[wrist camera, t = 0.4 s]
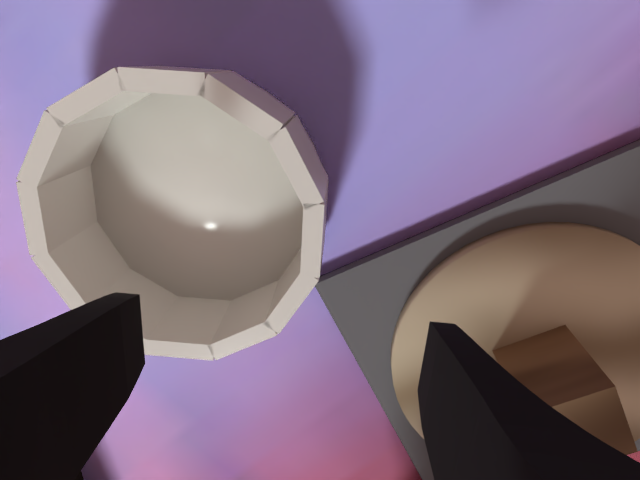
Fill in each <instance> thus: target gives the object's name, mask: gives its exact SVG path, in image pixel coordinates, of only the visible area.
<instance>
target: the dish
mask: <svg viewBox="0 0 640 480" xmlns="http://www.w3.org/2000/svg"><path fill="white" fill-rule="evenodd" d="M294 114H295V112H294V111H292V110H291V109H289V108H288V107H286V106H285V105H284V104H283V103H282V102H280V101H279V100H278V99H277V98H275V97H274V96H273V95H271V94H270V93H269V92H267V91H266V90H264V89H262V88H261V87H259V86H257V85H256V84H254V83H252V82H250V81H248V80H247V79H245V78H244V77H242V76H241V75H239V74H238V73H236V72H235V71H233V72H232V70H219V69H203V68H188V67H172V66H131V67H117V68H113V69H111V70H109V71H108V72H106V73H104V74H103V75H101V76H99V77H98V78H96V79H94V80H93V81H91V82H89V83H87V84H86V85H84V86H82V87H81V88H79V89H77V90H76V91H74V92H72V93H71V94H69V95H67V96H66V97H64V98H62V99H61V100H59V101H57V102H56V103H54V104H52V105H51V106H49V107H47V110H44V112H43V115H42V117H41V120H40V122H39V125H38V127H37V130H36V132H35V135H34V137H33V139H32V142H31V144H30V147H29V149H28V152H27V154H26V157H25V159H24V162H23V164H22V166H21V169H20V171H19V174H18V176H17V180H19V181H18V182H16V184H17V190H18V195H19V200H20V206H21V211H22V216H23V222H24V227H25V233H26V238H27V243H28V249H29V254H30V255H35V256H33V257H31V258H32V260H33V261H34V262H35V264H36V265H37V266H38V268H39V269H40V270H41V272H42V273H43V274H44V275H45V277H46V278H47V279H48V281H49V282H50V283H51V285H52V286H53V287H54V289H55V290H56V291H57V292H58V294H59V295H60V296H61V298H62V299H63V300H64V302H65V303H66V304H67V306H68V307H69V308H70V309H71V310H73V309H75V308H77V307H79V306H82V305H84V304H86V303H89V302H91V301H93V300H96V299H98V298H101V297H103V296H106V295H109V294H112V293H115V292H118V293H129V294H140V305H141V318H142V331H143V344H144V352H145V355H154V356H166V357H177V358H189V359H201V360H214V358H215V359H216V360H218V359H220V358H223V357H225V356H228V355H230V354H232V353H235V352H237V351H240V350H242V349H245V348H247V347H250V346H252V345H255V344H257V343H260V342H262V341H264V340H267V339H269V338H272V337H274V336H277V333H280V332H281V331H282V329H283V328H284V327H285V325H286V324H287V323H288V321H289V320H290V318H291V317H292V316H293V314H294V313H295V312H296V310H297V309H298V308H299V306H300V305H301V304H302V302H303V301H304V300H305V298H306V297H307V296H308V294H309V293H310V292H311V290H312V289H313V288H314V286H315V285H316V284H317V282H318V281H319V278H320V272H321V264H322V257H323V249H324V242H325V227H326V212H327V198H328V183H329V180H328V176H327V174H326V172H325V170H324V168H323V166H322V164H321V161H320V158H319V156H318V153H317V151H316V149H315V146H314V144H313V142H312V140H311V139H310V137H309V135H308V133H307V132H306V130H305V128H304V127H303V126H302V124H301V122H300V120H299V118H298V116H297V115H296V116H295V115H294Z"/></svg>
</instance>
